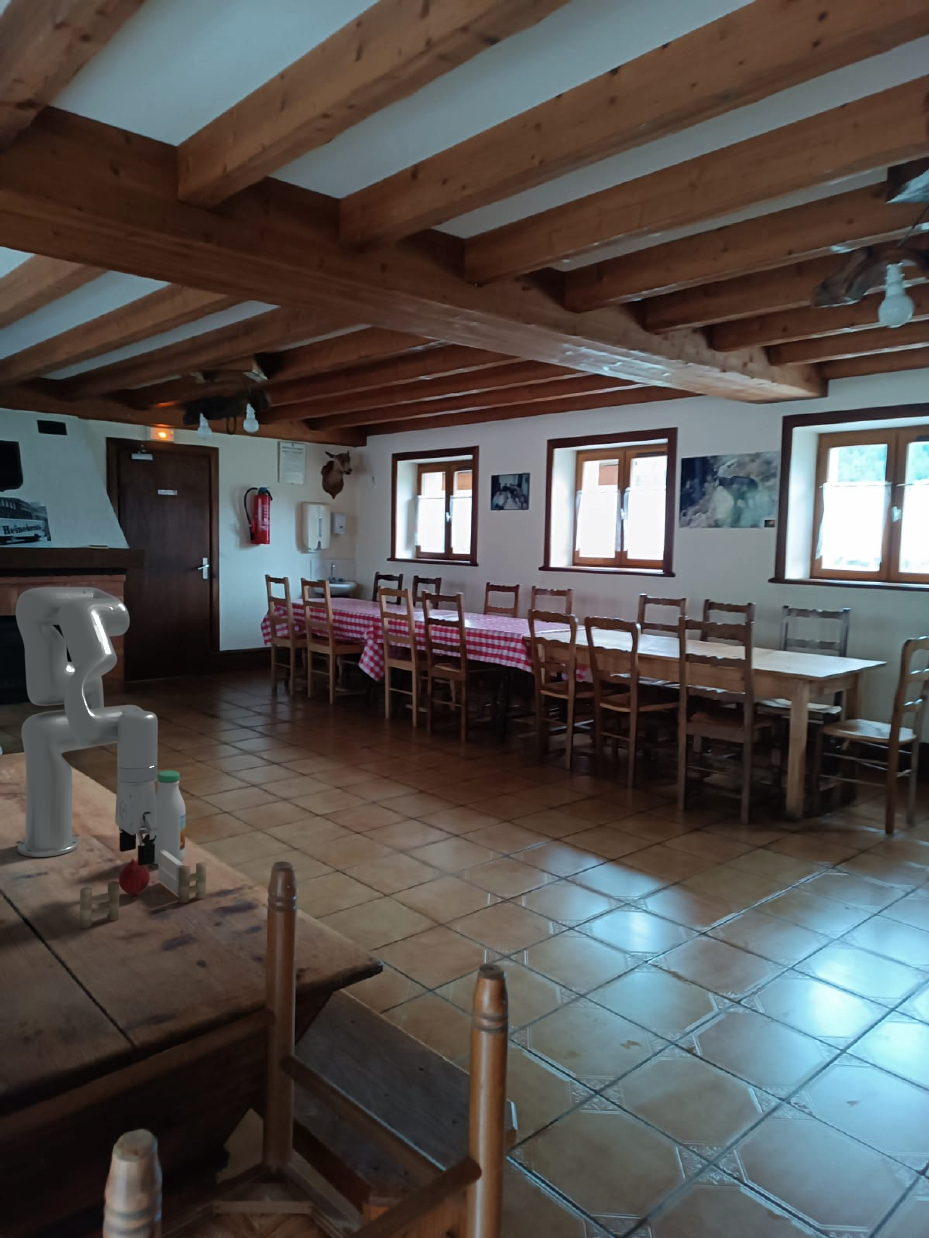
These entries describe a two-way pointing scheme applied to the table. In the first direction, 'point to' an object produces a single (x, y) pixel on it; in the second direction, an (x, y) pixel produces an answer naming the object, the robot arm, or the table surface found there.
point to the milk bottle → (170, 816)
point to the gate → (169, 870)
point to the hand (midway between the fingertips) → (136, 856)
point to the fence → (113, 895)
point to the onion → (134, 878)
